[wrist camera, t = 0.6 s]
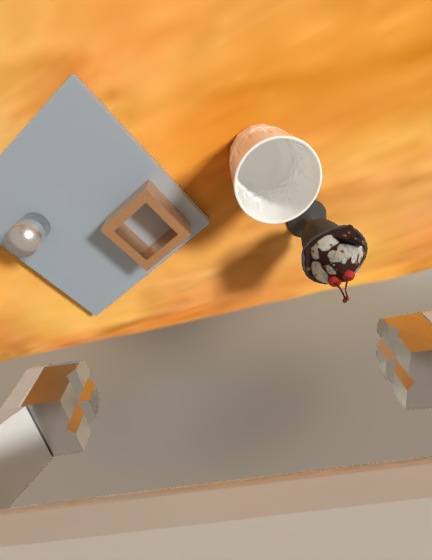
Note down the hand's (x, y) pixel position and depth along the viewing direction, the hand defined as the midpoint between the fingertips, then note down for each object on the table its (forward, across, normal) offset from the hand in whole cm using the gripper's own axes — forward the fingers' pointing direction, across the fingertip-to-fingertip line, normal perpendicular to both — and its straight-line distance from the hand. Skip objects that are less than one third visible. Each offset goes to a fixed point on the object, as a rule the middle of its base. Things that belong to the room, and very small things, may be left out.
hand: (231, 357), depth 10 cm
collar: (+33, +8, +5) cm, 34 cm away
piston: (+32, +21, +3) cm, 39 cm away
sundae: (+36, -10, +9) cm, 38 cm away
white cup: (+35, -5, 0) cm, 35 cm away
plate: (+34, +15, +3) cm, 37 cm away
